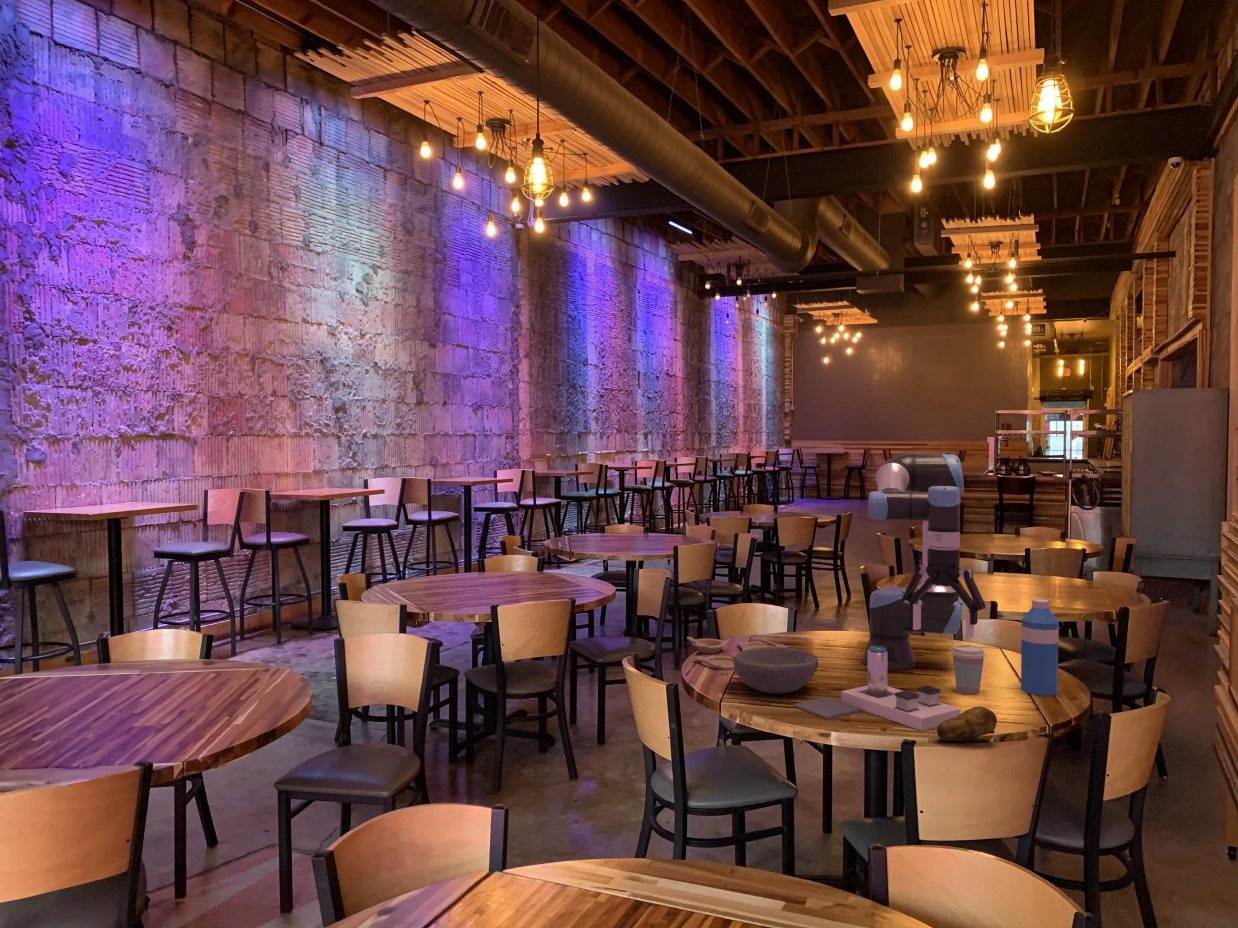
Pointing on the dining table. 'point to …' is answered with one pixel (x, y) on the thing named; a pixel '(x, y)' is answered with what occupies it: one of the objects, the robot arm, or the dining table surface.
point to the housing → (899, 709)
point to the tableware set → (716, 645)
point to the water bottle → (1039, 650)
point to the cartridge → (877, 671)
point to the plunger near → (907, 700)
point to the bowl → (775, 668)
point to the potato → (968, 725)
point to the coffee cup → (968, 668)
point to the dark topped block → (928, 695)
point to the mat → (827, 708)
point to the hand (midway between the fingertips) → (942, 633)
